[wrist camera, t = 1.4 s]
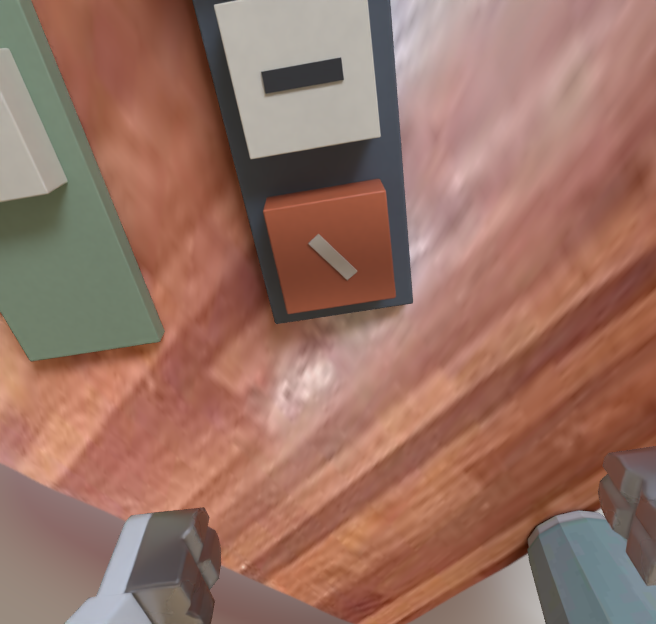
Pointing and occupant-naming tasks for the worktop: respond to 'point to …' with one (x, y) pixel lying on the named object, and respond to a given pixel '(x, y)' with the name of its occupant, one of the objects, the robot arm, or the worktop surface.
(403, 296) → the strip
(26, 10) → the green word strip
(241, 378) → the worktop surface
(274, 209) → the brown flat square block
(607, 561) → the disposable coffee cup
